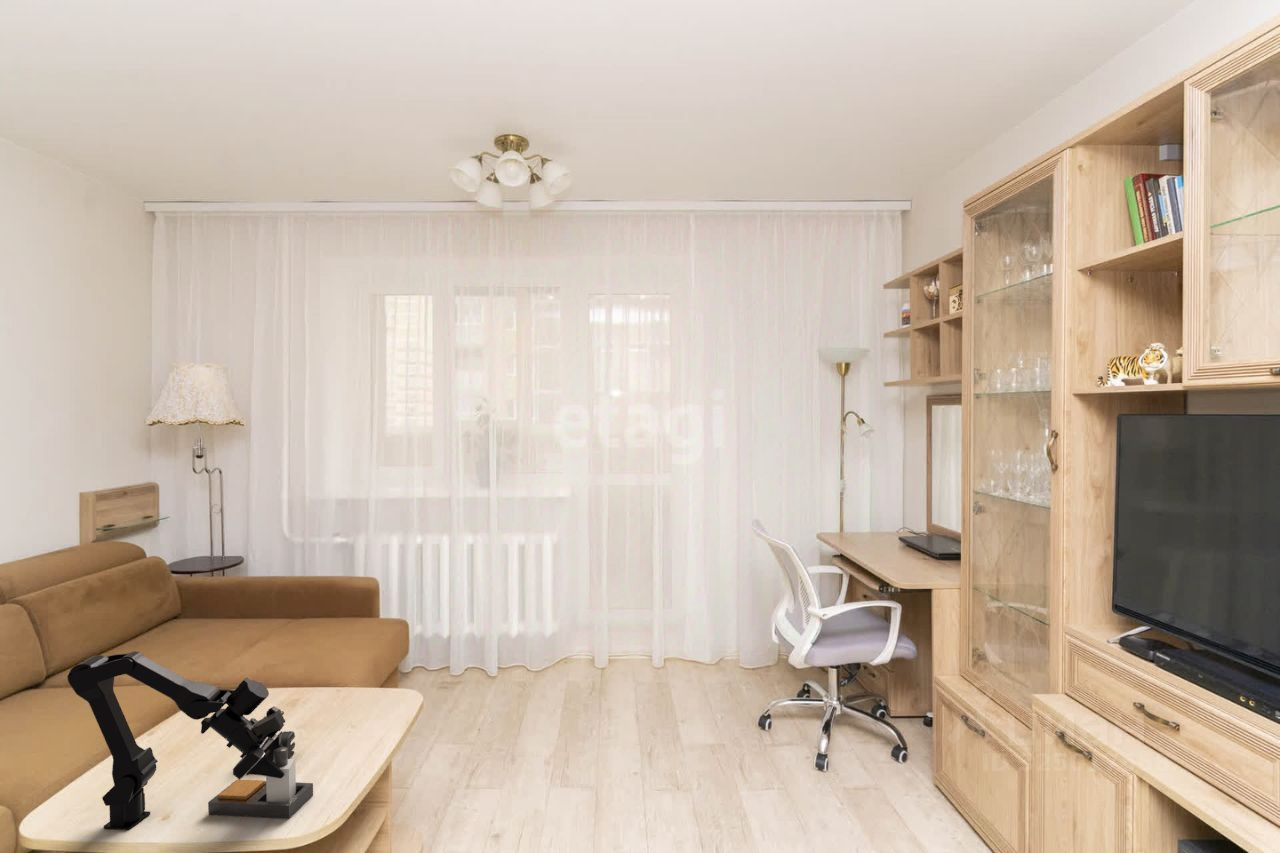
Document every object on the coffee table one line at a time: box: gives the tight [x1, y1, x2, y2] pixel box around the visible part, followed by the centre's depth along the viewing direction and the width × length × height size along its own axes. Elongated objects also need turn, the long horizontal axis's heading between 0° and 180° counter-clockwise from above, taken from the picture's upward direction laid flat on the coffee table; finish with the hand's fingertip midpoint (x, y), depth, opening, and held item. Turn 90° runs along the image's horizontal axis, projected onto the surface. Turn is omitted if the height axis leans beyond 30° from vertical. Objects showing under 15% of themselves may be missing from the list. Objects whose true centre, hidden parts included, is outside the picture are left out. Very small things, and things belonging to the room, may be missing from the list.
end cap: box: [271, 730, 296, 761], centre depth 192 cm, size 10×7×7 cm
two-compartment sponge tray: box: [207, 778, 314, 820], centre depth 170 cm, size 10×20×4 cm, turn 84°
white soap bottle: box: [265, 747, 297, 803], centre depth 169 cm, size 5×5×13 cm
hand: (286, 770), depth 169 cm, fingers open, 6 cm apart
